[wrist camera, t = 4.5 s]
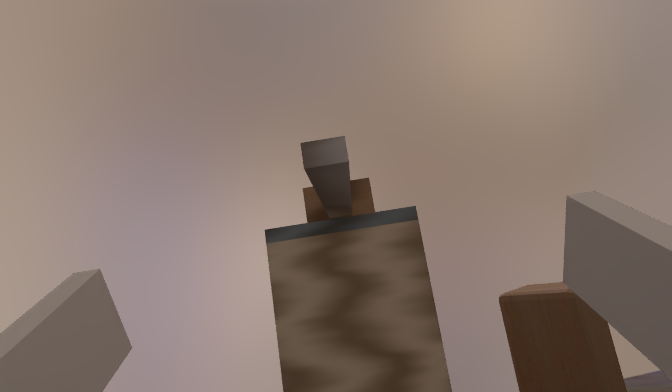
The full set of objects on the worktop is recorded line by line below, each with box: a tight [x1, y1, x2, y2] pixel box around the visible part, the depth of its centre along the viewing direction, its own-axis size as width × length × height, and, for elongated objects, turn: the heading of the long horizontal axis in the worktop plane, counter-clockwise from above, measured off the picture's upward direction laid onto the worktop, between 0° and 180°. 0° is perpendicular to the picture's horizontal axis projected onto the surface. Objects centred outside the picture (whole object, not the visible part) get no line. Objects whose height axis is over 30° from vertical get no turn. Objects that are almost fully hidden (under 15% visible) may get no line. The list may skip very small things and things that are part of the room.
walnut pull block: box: [301, 136, 375, 223], centre depth 29 cm, size 6×24×5 cm, turn 177°
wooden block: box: [499, 282, 627, 392], centre depth 50 cm, size 10×10×20 cm
